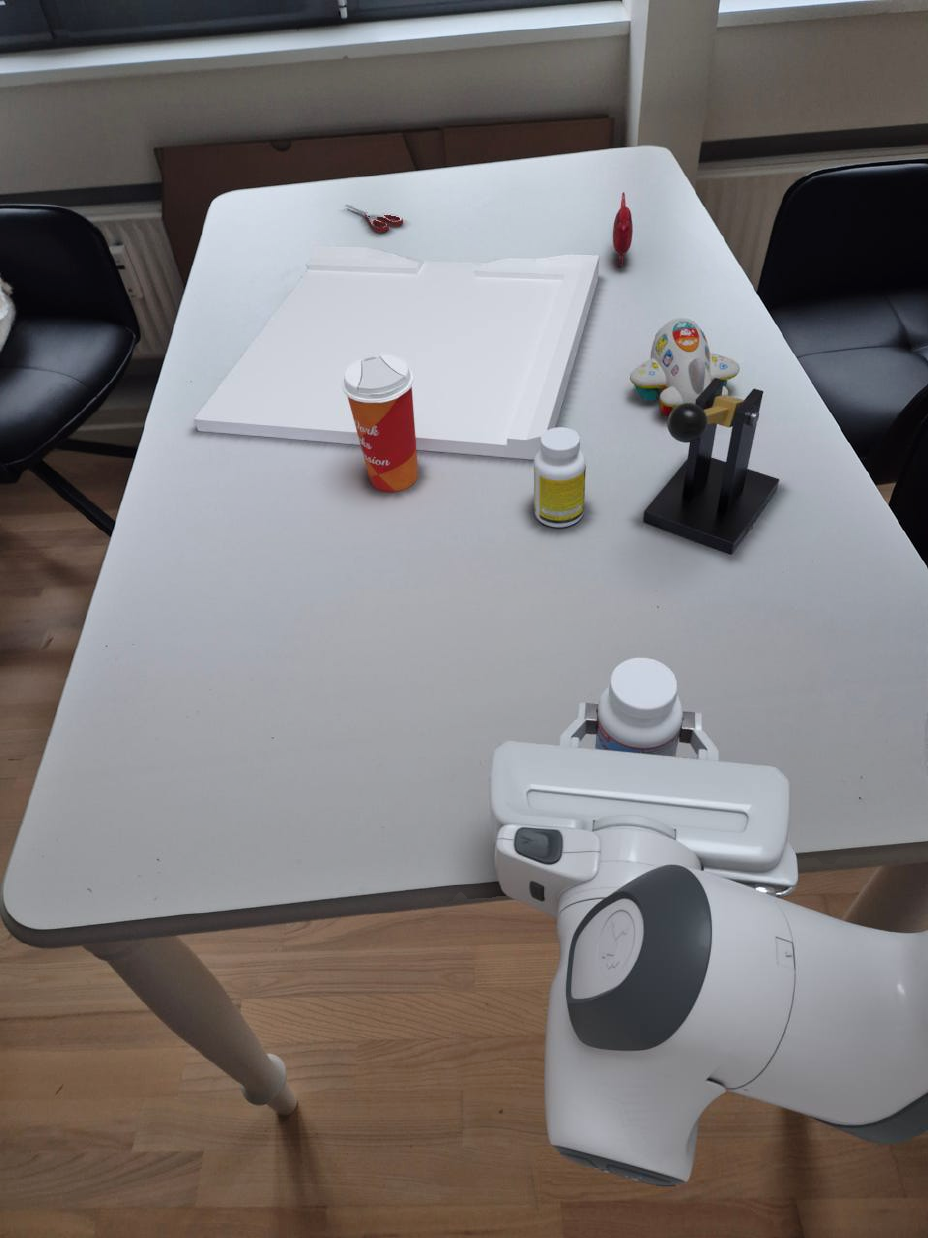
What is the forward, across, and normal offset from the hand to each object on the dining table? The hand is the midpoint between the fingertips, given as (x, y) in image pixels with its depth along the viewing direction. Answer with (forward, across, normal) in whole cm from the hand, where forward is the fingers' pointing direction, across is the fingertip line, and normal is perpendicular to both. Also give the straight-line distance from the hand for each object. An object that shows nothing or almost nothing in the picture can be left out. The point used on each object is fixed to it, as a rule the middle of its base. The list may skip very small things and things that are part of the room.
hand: (638, 712), depth 64 cm
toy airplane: (+57, -4, +10) cm, 58 cm away
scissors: (+109, +50, +9) cm, 120 cm away
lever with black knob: (+30, -4, -4) cm, 31 cm away
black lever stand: (+36, -7, +9) cm, 37 cm away
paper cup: (+38, +29, +9) cm, 48 cm away
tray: (+66, +33, +9) cm, 74 cm away
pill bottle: (-1, 0, +7) cm, 7 cm away
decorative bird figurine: (+95, +6, +9) cm, 95 cm away
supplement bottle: (+33, +9, +9) cm, 36 cm away
